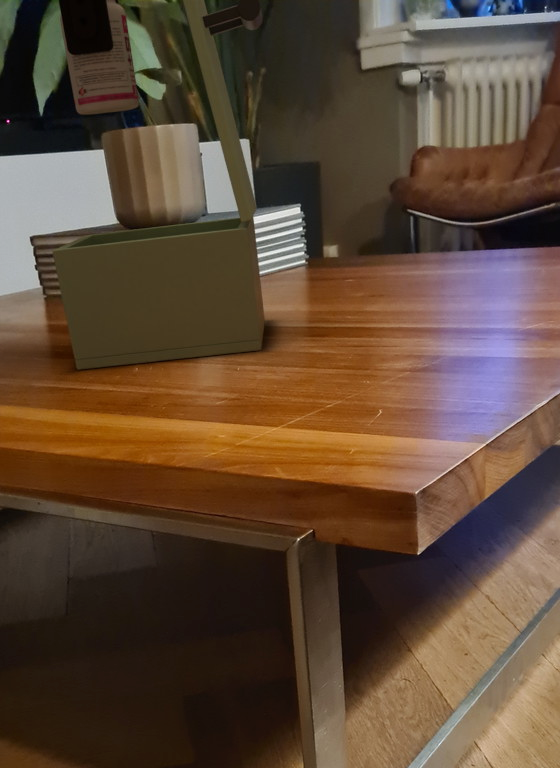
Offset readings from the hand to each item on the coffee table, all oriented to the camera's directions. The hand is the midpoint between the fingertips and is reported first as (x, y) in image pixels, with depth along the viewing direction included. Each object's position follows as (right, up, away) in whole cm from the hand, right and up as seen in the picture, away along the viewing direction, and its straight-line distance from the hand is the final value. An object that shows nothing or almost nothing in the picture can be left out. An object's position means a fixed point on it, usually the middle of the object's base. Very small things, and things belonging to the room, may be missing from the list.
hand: (98, 52), depth 67 cm
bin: (+5, -18, +10) cm, 21 cm away
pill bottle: (0, -3, +2) cm, 4 cm away
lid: (+9, -3, +2) cm, 9 cm away
